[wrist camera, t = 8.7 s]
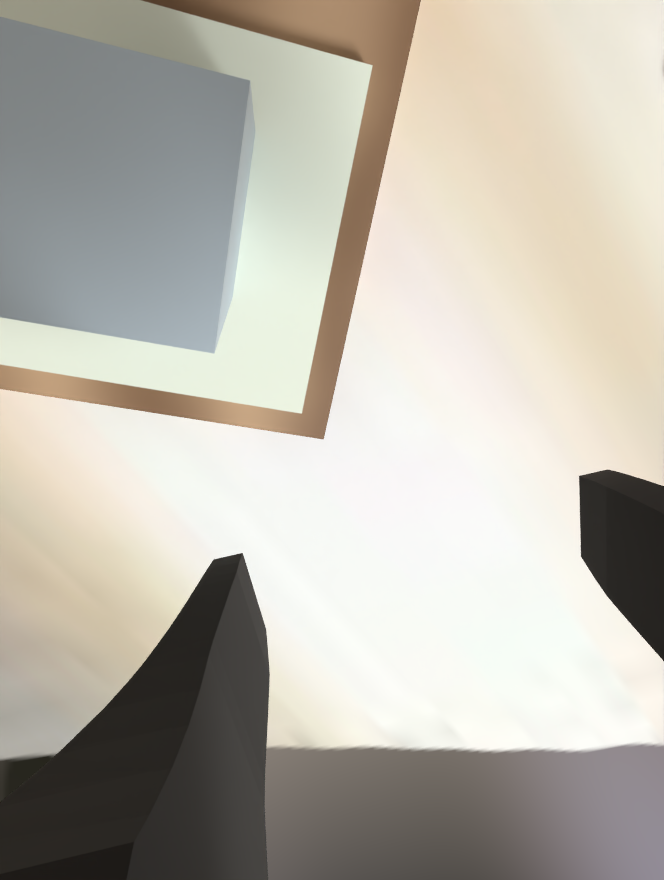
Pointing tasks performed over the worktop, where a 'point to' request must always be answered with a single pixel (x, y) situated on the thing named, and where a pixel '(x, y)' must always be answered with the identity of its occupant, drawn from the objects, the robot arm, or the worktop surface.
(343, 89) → the felt pad
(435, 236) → the worktop surface
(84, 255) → the part block
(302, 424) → the pocket board
